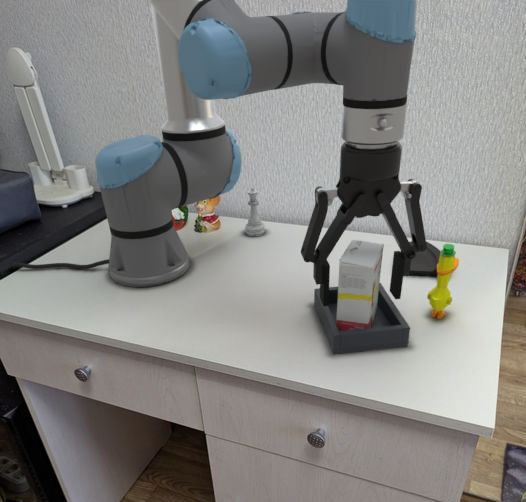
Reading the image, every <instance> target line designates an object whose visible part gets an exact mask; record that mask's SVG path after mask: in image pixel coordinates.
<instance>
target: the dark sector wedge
mask: <svg viewBox="0 0 526 502" xmlns="http://www.w3.org/2000/svg"><path fill="white" fill-rule="evenodd" d="M426 245H427V248H426V250H425V251H423V252H420V251H419V252H416V256H415V258H414V259H411V266H410V273H409V275H416V276H434V277H437V275H438V273H437V264H438V263H439V258H440V251H441V250H440V249H439V248H438V247H436V246H435V245H433V244H432V243H430V242H429V241H427V240H426Z"/></svg>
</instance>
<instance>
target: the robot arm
mask: <svg viewBox="0 0 526 502" xmlns="http://www.w3.org/2000/svg"><path fill="white" fill-rule="evenodd" d="M148 2H149V4H150V8H151V9H150V10H151V17H152V22H153V29H154V30H153V31H154V35H155V41H156V48H157V55H158V62H159V69H160V75H161V81H162V85H163V86H162V87H163V94H164V100H165V107H166V113H167V117H166V118H167V119H166V120H165V122H163V124H162V126H161V128H160V129H161V134H162V141H161V139H160V138H159V137H157V136H155V135H149V134H148V135H145V134H143V135H138V136H135V137H134V136H129V137H126V138H122V139H119V140H116V141H113V142H111V143H109V144H107V145H105V146H104V147H102V148H100V150H99V151H98V152H97V154H96V156H95V159H94V165H95V170H96V181H97V185H98V187H99V190H100V194H101V198H102V202H103V207H104V210H105V215H106V220H107V224H108V227H109V231H110V236H111V237H110V250H109V256H108V257H109V258H108V259H104V260H100V261H95V262H92V263H87V264H77V263H70V262H69V263H68V262H54V263H43V264H42V263H41V264H32V263H31V264H30V263H24V262H13V263H14V266H8V265H7V266H6V267H5V269H4V272H9V271H11V270H12V269H13V268H16V267H17V268H25V269H29V270H30V269H31V270H41V269H52V268H53V269H54V268H71V269H77V270H88V269H93V268H96V267H100V266H104V265H108V269H109V274H110V278H111V279H112V280H113V281H114V282H116V283H117V284H119V285H122V286H127V287H133V288H135V287H136V288H144V287H146V288H147V287H153V286H159V285H163V284H166V283H170V282H172V281H174V280H177V279H178V278H180V277H182V276H183V275H184V274H186V273H187V272H188V270H189V269H190V268H189V267H190V258H189V253H188V252H187V250H186V248H185V245H184V243H183V241H182V240H181V238H180V236H179V234H178V231H177V230H176V228H175V223H174V218H173V217H174V216H173V210H176V209H179V208H182V207H186V206H189V205H192V204H196V203H200V202H202V201H207V200H213V199H216V198H218V197H220V196H221V195H224V194H226V193H229V192H230V191H232V190H233V189H234V187H235V186H236V185H237V183H238V181H239V179H240V176H241V172H242V153H241V149H240V145H239V144H237V138H236V136H234V134H233V133H232V132H231V131H229V130H228V129H226V122H225V121H224V119H223V118H222V117H220V115H218V114H217V112H216V103H215V100H232V99H236V98H239V97H243V96H249V95H252V94H258V93H263V92H267V91H274V90H275V91H276V90H281V89H282V90H283V89H287V88H292V87H299V86H304V85H311V84H325V85H337V86H342V112H341V113H342V114H341V115H342V116H341V132H340V133H341V134H340V138H341V139H342V140H343V141H344V142H343V143H342V144H341V145H340V157H339V158H340V159H339V160H340V162H339V179H338V182H337V184H336V185H335V186H333V187H326V188H325V187H323V186H321V185H318V186H316V187H315V189H314V206H313V209H312V213H311V217H310V220H309V223H308V226H307V229H306V232H305V236H304V239H303V242H302V246H301V249H300V254H301V257H302V259H303V261H304V262H305V263H313V273H312V274H313V275H312V276H313V280H314V282H315V285H316V286H317V285H319V288H320V299H321V302H322V304H323V306H329V287H330V272H331V265H330V262H329V261H328V258H329V256H330V255H331V253H332V252H333V250H334V248H335V247H336V245H337V244H338V242H339V240H340V239H341V238H342V235H343V234H344V232H345V231H346V230H347V228H348V226H349V225H351V224H352V223H353V221H354V219H355V218H356V219H363V218H366V217H368V216H369V217H380V215H381V216H382V217H383V219H384V221H385V223H386V225H387V227H388V229H389V231H390V234H391V235H392V237H393V238H394V240H395V242H396V244H397V246H398V248H399V250H394V251H393V258H392V266H391V276H390V284H389V292H390V294H391V295H392V297H393V298H394V300H400V299H401V296H402V290H403V289H402V288H403V283H404V282H403V281H404V277H408V276H409V275H410V274H409V273H410V266H411V259H414V258H415V256H416V252H419V251H420V252H423V251H425V250H426V248H427V245H426V241H427V240H426V239H427V238H426V233H425V227H424V222H423V214H422V207H421V204H420V203H421V202H420V201H421V200H420V199H421V196H422V195H421V194H422V189H423V186H422V185H421V184H420V182H418V181H417V180H416V179H415V178H409V179H408V180H407V181H400V171H401V161H402V153H403V152H402V151H403V145H402V143H401V142H400V141H401V140H402V139H403V138H404V132H405V125H406V124H405V123H406V114H407V106H408V105H407V104H408V89H409V82H410V74H411V66H412V61H413V53H414V48H415V47H414V46H415V40H416V39H417V32H416V21H417V6H418V0H346V9H345V11H342V12H335V11H334V12H328V11H326V12H325V11H324V12H323V11H321V12H319V11H318V12H317V11H315V12H312V11H305V10H304V11H301V12H300V11H295V12H291V13H289V14H280V15H264V16H250V15H248V14H246V13H245V11H244V10H243V9H242V8H241V6H240V5H239V4H238V3H237V2H236V1H235V0H148ZM399 193H401V194H400V195H401V196H402V197H403V199H404V204H405V211H406V215H407V220H408V221H407V222H408V226H409V231H410V238H411V241H409V239H408V237H407V235H406V233H405V231H404V229H403V228H402V226H401V223H400V221H399V219H398V217H397V216H396V215H397V214H396V213H395V210H394V208H393V206H392V205H391V204H392V203H393V201H394V200H395V199H396V197H397V196H398V195H399ZM336 198H338V199H339V200H340V202H341V204H340V206H339V207H338V209H337V211H336V215H335V217H334V218H333V220H332V222H331V223H330V225H329V227H328V228H327V229H326V231H325V233H324V235H323V237H322V238H321V240H320V236H321V233H322V230H323V227H324V224H325V221H326V218H327V216H328V210H329V206H331V205H333V202H334V199H336ZM319 240H320V242H319ZM318 242H319V243H318Z"/></svg>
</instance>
